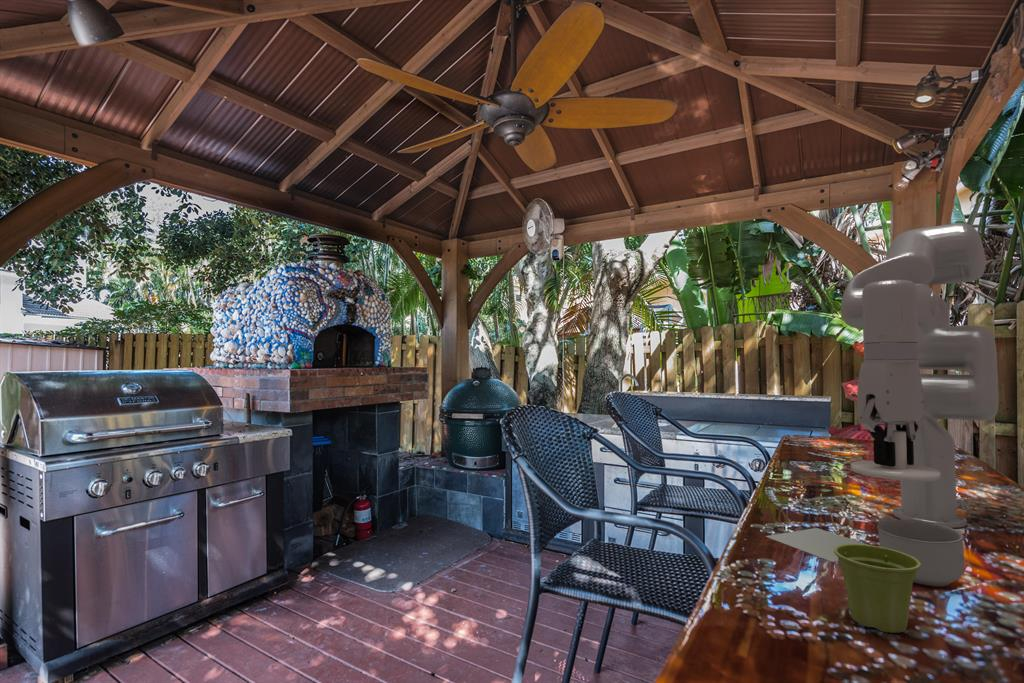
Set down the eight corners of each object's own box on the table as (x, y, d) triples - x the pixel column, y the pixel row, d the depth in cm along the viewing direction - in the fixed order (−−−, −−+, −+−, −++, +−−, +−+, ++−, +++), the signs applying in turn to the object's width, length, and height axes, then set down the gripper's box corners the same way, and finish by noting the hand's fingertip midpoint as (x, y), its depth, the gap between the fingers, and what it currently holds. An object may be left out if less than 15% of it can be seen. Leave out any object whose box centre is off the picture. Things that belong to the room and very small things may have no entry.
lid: (882, 464, 94) (881, 425, 94) (958, 478, 83) (956, 434, 83) (834, 468, 90) (833, 428, 90) (907, 483, 79) (906, 437, 79)
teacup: (983, 597, 76) (981, 541, 76) (899, 591, 78) (897, 537, 78) (927, 561, 89) (926, 514, 90) (857, 557, 91) (856, 511, 92)
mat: (816, 529, 106) (816, 527, 106) (887, 553, 93) (887, 550, 93) (765, 538, 101) (765, 536, 101) (832, 564, 88) (832, 561, 88)
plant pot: (819, 606, 73) (818, 544, 73) (882, 604, 74) (880, 542, 74) (871, 642, 63) (869, 570, 64) (942, 639, 64) (940, 568, 65)
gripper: (901, 355, 94) (904, 457, 93) (833, 354, 88) (836, 463, 87) (948, 354, 87) (952, 465, 86) (878, 353, 81) (881, 472, 80)
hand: (893, 463), depth 86 cm, fingers closed on lid, 3 cm apart
